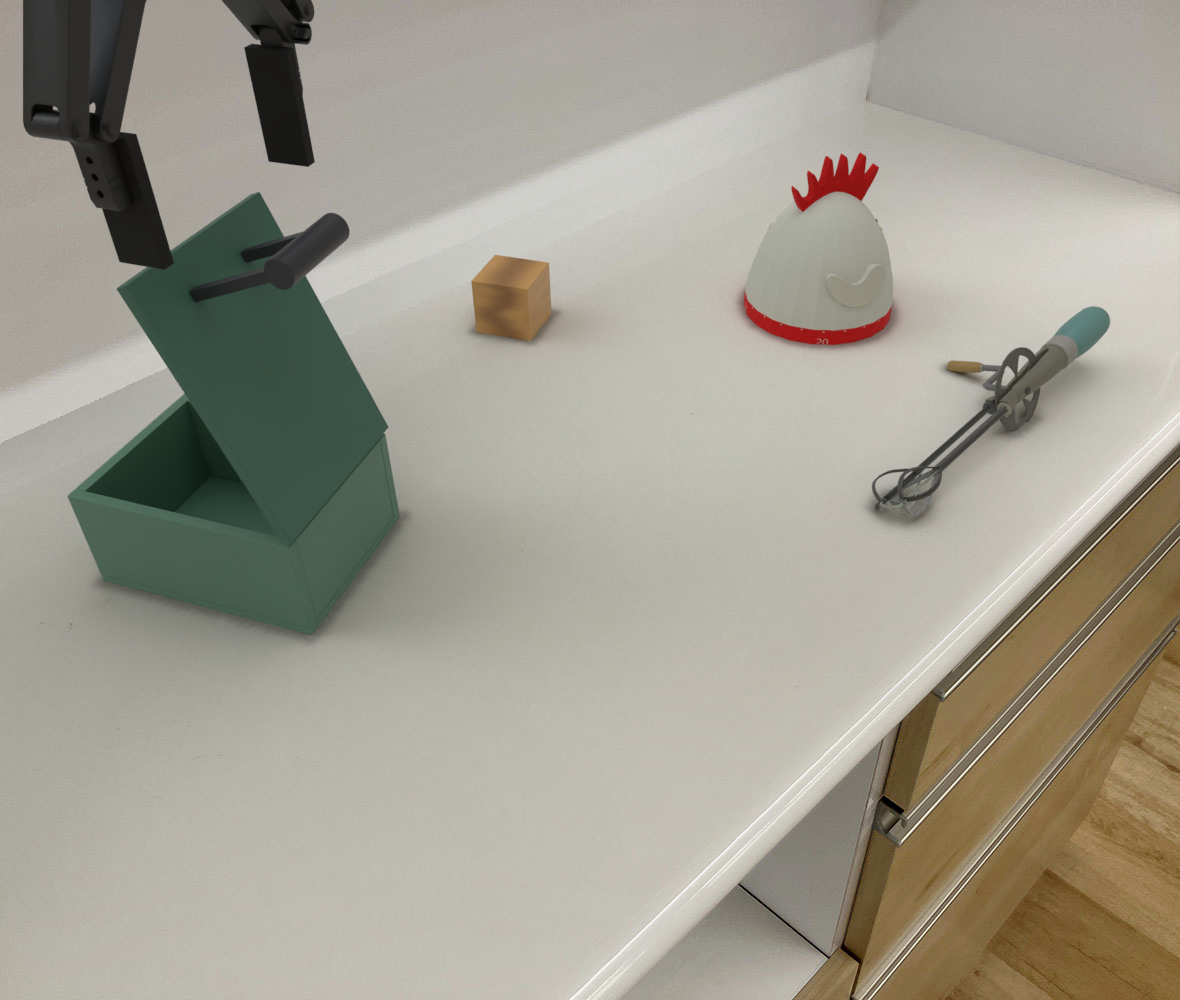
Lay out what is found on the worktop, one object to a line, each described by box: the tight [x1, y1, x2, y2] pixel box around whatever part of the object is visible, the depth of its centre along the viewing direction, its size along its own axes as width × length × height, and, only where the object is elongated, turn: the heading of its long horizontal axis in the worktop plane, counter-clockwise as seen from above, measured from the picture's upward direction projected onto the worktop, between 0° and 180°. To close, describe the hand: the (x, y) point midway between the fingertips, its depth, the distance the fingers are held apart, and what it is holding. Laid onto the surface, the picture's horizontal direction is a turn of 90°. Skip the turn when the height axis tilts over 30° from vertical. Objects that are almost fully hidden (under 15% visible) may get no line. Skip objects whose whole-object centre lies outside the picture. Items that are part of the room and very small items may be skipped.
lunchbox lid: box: [116, 191, 389, 543], centre depth 62 cm, size 17×13×8 cm
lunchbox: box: [67, 393, 401, 636], centre depth 73 cm, size 17×13×8 cm
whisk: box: [871, 305, 1111, 516], centre depth 85 cm, size 11×32×7 cm, turn 132°
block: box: [470, 254, 552, 342], centre depth 98 cm, size 6×6×6 cm
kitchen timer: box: [743, 152, 894, 346], centre depth 96 cm, size 14×14×15 cm
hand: (225, 208), depth 57 cm, fingers open, 13 cm apart
